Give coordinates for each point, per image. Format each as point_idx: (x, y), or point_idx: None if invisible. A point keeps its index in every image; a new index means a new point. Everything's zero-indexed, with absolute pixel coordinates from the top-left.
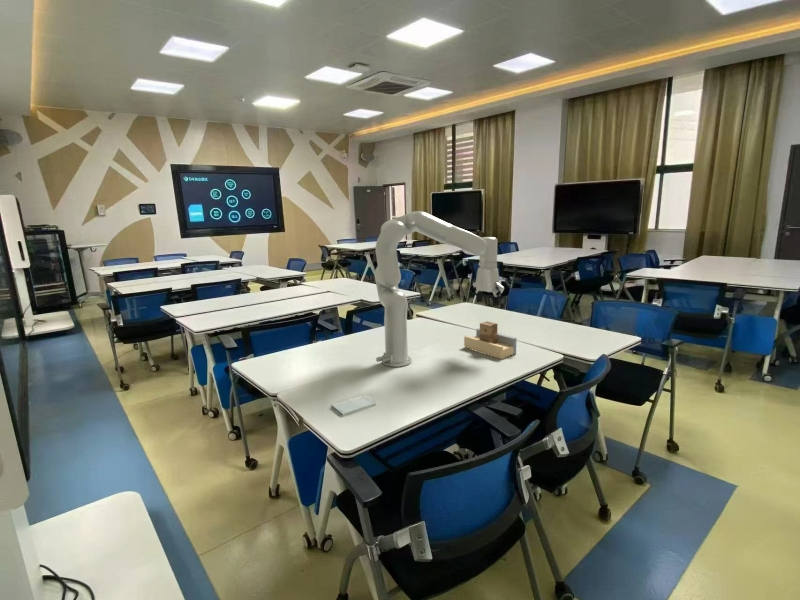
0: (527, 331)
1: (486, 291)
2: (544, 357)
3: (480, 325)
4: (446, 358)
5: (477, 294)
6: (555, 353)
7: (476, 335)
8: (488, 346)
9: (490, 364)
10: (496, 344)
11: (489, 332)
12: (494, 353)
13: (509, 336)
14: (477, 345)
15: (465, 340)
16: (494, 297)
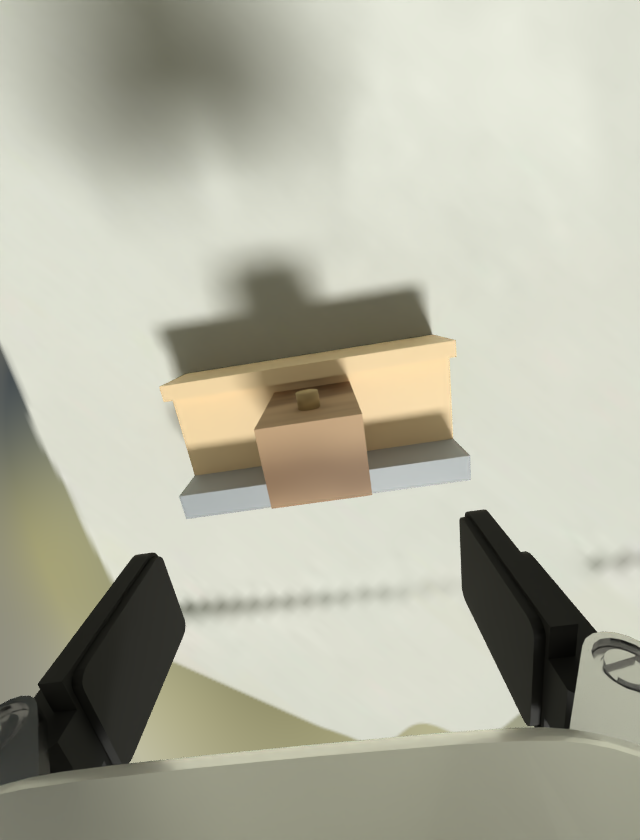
0: (429, 697)
1: (155, 762)
2: (128, 536)
3: (352, 409)
4: (340, 115)
5: (540, 614)
6: None
7: (452, 439)
8: (255, 369)
9: (146, 280)
10: None
11: (266, 412)
12: (220, 370)
13: (228, 508)
14: (338, 354)
15: (435, 339)
16: (51, 673)
